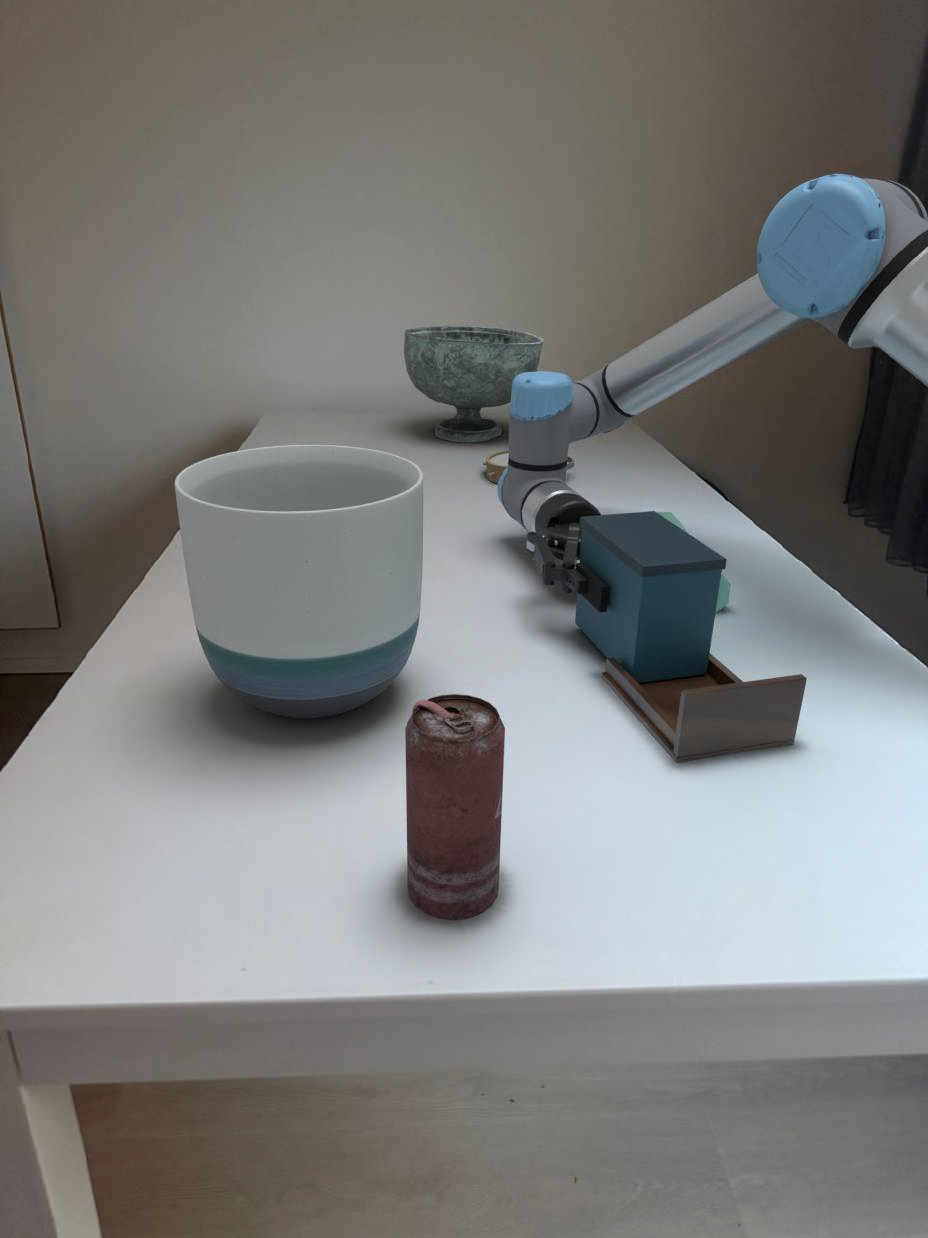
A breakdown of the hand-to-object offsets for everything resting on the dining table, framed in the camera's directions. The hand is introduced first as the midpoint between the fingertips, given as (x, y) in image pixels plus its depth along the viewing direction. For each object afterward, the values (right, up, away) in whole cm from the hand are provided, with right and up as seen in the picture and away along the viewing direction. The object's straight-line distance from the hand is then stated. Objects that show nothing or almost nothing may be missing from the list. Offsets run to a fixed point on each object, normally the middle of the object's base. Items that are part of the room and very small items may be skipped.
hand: (648, 595), depth 89 cm
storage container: (0, -5, +4) cm, 6 cm away
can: (-19, -21, -28) cm, 40 cm away
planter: (-32, -10, -4) cm, 34 cm away
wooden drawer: (+3, -11, -5) cm, 12 cm away
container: (+9, +3, +25) cm, 27 cm away
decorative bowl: (-17, +34, +92) cm, 99 cm away
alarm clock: (-7, +21, +64) cm, 68 cm away
